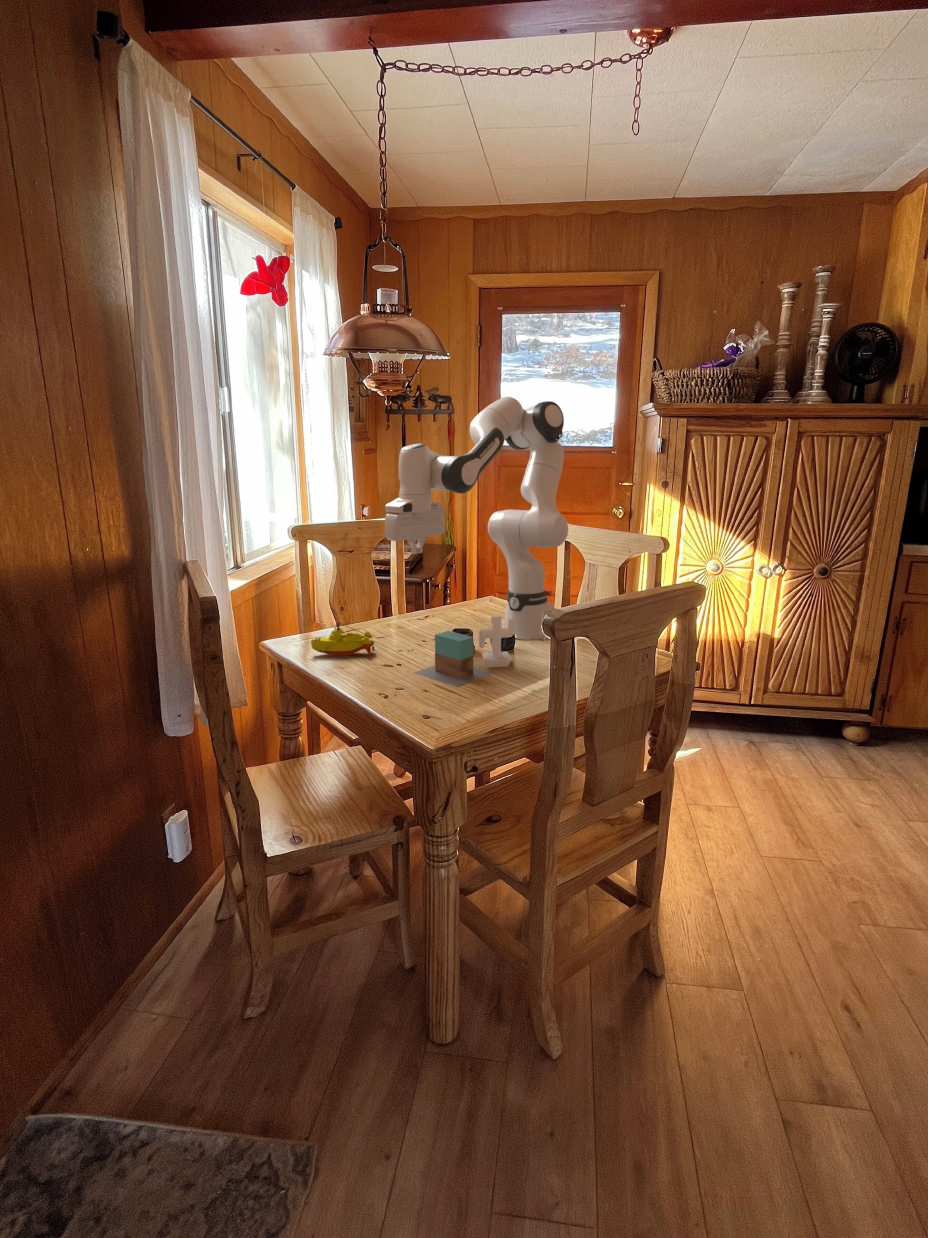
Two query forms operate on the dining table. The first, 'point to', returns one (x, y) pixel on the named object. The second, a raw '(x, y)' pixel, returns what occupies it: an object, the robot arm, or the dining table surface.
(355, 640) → the toy boat
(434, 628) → the dining table surface
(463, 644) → the teal block
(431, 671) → the baseplate
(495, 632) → the figurine
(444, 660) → the walnut block
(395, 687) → the dining table surface
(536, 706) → the dining table surface
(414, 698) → the dining table surface
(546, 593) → the robot arm
